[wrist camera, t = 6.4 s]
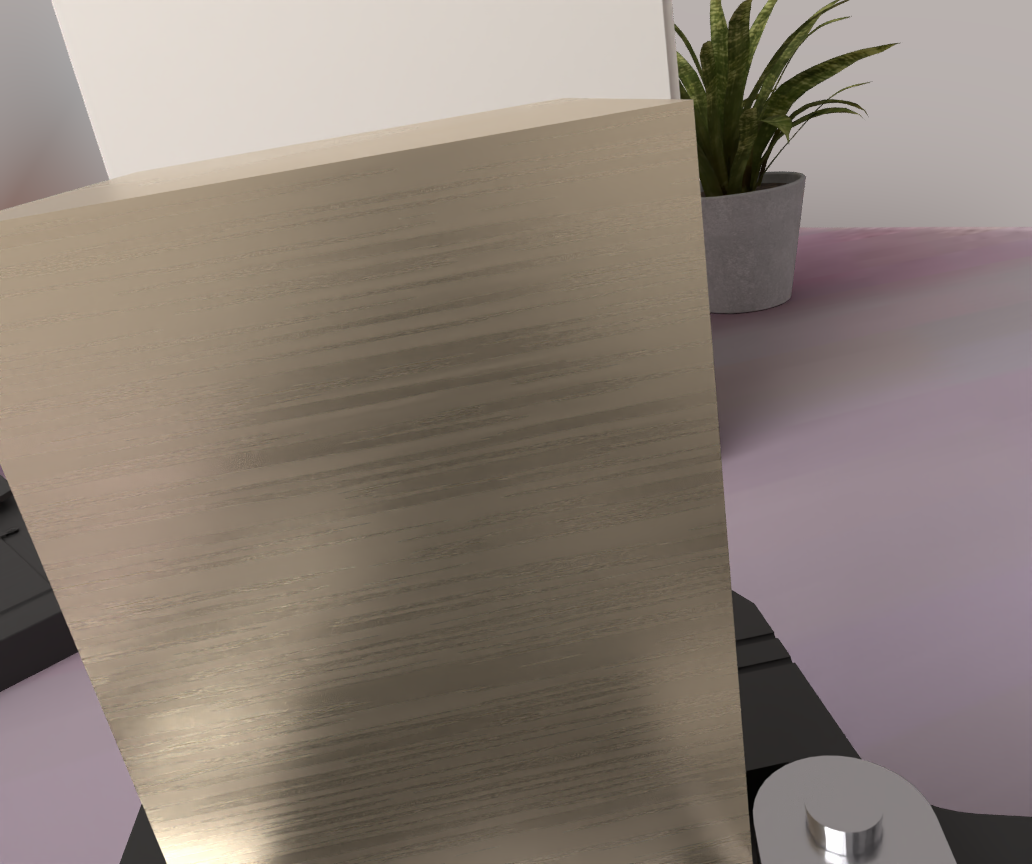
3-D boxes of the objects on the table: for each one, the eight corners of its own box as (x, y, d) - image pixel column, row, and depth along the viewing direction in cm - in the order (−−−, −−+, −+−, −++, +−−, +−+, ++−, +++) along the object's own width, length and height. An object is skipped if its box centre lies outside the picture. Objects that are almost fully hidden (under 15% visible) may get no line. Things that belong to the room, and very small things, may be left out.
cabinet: (655, 371, 40) (597, -173, 32) (744, 469, 29) (690, -302, 21) (264, 447, 39) (105, -93, 31) (212, 576, 28) (-46, -188, 21)
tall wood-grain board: (533, 540, 27) (456, 96, 22) (799, 1468, 9) (692, 98, 4) (421, 563, 27) (320, 119, 22) (455, 1557, 9) (-95, 236, 4)
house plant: (725, 368, 38) (694, -47, 32) (553, 323, 50) (506, 10, 44) (933, 287, 45) (940, -75, 39) (738, 263, 56) (719, -19, 50)
